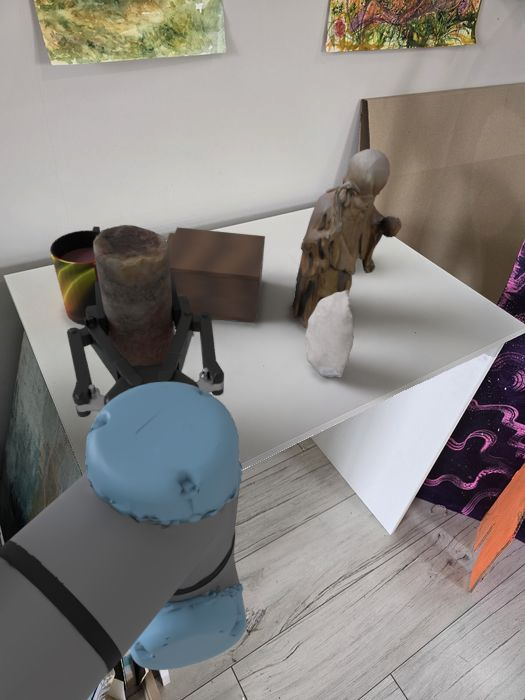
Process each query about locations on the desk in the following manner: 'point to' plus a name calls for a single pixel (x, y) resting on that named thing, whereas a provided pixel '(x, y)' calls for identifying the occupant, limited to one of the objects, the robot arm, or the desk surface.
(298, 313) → the sculpture
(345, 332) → the stone tool
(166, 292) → the candle
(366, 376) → the desk surface
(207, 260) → the dresser
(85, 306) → the mug
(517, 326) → the desk surface
